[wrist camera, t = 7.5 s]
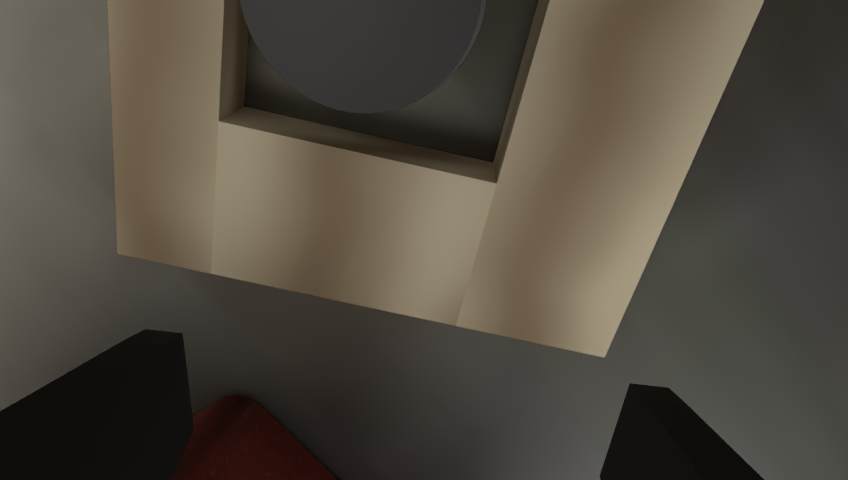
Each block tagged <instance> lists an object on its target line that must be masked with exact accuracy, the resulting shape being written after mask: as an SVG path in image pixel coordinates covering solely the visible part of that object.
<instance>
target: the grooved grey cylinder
mask: <svg viewBox="0 0 848 480" xmlns="http://www.w3.org/2000/svg"><path fill="white" fill-rule="evenodd" d="M486 1H487V0H240V5H241V8H242V12H243V15H244V19H245V22H246V24H247V27H248V29H249V31H250V34H251V36H252V38H253V40H254V42H255V43H256V45H257V47H258V49H259V51H260V52H261V54H262V55H263V56H264V58H265V59H266V61H267V62H268V64H269V65H270V66H271V67H272V68H273V69H274V70H275V71H276V73H277V74H278V75H279V76H280V77H281V78H282V79H283V80H285V81H286V82H287V83H288V84H289V85H290V86H291V87H293V88H294V89H295V90H297V91H298V92H300V93H301V94H303V95H304V96H306V97H308V98H310V99H311V100H313V101H315V102H317V103H319V104H322V105H325V106H327V107H330V108H333V109H337V110H341V111H345V112H352V113H379V112H386V111H391V110H394V109H398V108H401V107H404V106H407V105H409V104H411V103H413V102H415V101H418V100H419V99H421V98H422V97H424V96H426V95H427V94H429V93H430V92H431V91H433V90H434V89H436V88H437V87H439V86H440V85H441V84H442V83H443V82H445V81H446V80H447V79H448V78H449V77H450V76H451V75H452V74H453V73H454V72H455V71H456V70H457V69H458V68H459V66H460V65H461V63H462V62H463V61H464V59H465V58H466V57H467V55H468V53H469V51H470V50H471V48H472V46H473V44H474V42H475V40H476V38H477V35H478V33H479V30H480V28H481V25H482V21H483V17H484V13H485V8H486Z"/></svg>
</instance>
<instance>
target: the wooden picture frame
mask: <svg viewBox="0 0 848 480" xmlns="http://www.w3.org/2000/svg"><path fill="white" fill-rule="evenodd" d="M763 2H764V0H538V4H537V7H536V11H535V14H534V18H533V22H532V25H531V29H530V32H529V36H528V39H527V43H526V47H525V50H524V54H523V57H522V61H521V64H520V68H519V72H518V75H517V79H516V82H515V86H514V89H513V93H512V96H511V100H510V104H509V107H508V111H507V114H506V118H505V121H504V125H503V129H502V132H501V136H500V139H499V143H498V146H497V150H496V154H495V157H494V161H493V162H488V161H484V160H479V159H475V158H471V157H466V156H462V155H457V154H453V153H448V152H444V151H439V150H435V149H431V148H426V147H422V146H417V145H413V144H408V143H404V142H400V141H395V140H391V139H386V138H382V137H377V136H373V135H368V134H364V133H360V132H355V131H351V130H346V129H342V128H337V127H333V126H328V125H324V124H320V123H315V122H311V121H306V120H302V119H297V118H293V117H289V116H284V115H280V114H275V113H271V112H266V111H262V110H257V109H253V108H249V107H244V99H245V84H246V70H247V55H248V40H249V29H248V27H247V24H246V22H245V19H244V15H243V12H242V8H241V5H240V0H107V3H108V29H109V55H110V80H111V106H112V132H113V157H114V183H115V209H116V235H117V254H120V255H125V256H130V257H134V258H139V259H144V260H148V261H153V262H158V263H163V264H167V265H172V266H177V267H181V268H186V269H191V270H195V271H200V272H205V273H209V274H214V275H219V276H224V277H228V278H233V279H238V280H242V281H247V282H252V283H256V284H261V285H266V286H270V287H275V288H280V289H285V290H289V291H294V292H299V293H303V294H308V295H313V296H317V297H322V298H327V299H331V300H336V301H341V302H346V303H350V304H355V305H360V306H364V307H369V308H374V309H378V310H383V311H388V312H392V313H397V314H402V315H407V316H411V317H416V318H421V319H425V320H430V321H435V322H439V323H444V324H449V325H453V326H458V327H463V328H468V329H472V330H477V331H482V332H486V333H491V334H496V335H500V336H505V337H510V338H514V339H519V340H524V341H529V342H533V343H538V344H543V345H547V346H552V347H557V348H561V349H566V350H571V351H575V352H580V353H585V354H590V355H594V356H599V357H604V358H605V355H606V353H607V351H608V349H609V347H610V344H611V342H612V340H613V338H614V335H615V333H616V331H617V329H618V326H619V324H620V322H621V320H622V317H623V315H624V313H625V311H626V309H627V306H628V304H629V302H630V300H631V297H632V295H633V293H634V291H635V288H636V286H637V284H638V282H639V279H640V277H641V275H642V273H643V271H644V268H645V266H646V264H647V262H648V259H649V257H650V255H651V253H652V250H653V248H654V246H655V244H656V241H657V239H658V237H659V235H660V233H661V230H662V228H663V226H664V224H665V221H666V219H667V217H668V215H669V212H670V210H671V208H672V206H673V203H674V201H675V199H676V197H677V195H678V192H679V190H680V188H681V186H682V183H683V181H684V179H685V177H686V174H687V172H688V170H689V168H690V165H691V163H692V161H693V159H694V157H695V154H696V152H697V150H698V148H699V145H700V143H701V141H702V139H703V136H704V134H705V132H706V130H707V127H708V125H709V123H710V121H711V119H712V116H713V114H714V112H715V110H716V107H717V105H718V103H719V101H720V98H721V96H722V94H723V92H724V89H725V87H726V85H727V83H728V81H729V78H730V76H731V74H732V72H733V69H734V67H735V65H736V63H737V60H738V58H739V56H740V54H741V51H742V49H743V47H744V45H745V43H746V40H747V38H748V36H749V34H750V31H751V29H752V27H753V25H754V22H755V20H756V18H757V16H758V13H759V11H760V9H761V7H762V5H763Z"/></svg>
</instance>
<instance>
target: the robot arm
mask: <svg viewBox="0 0 848 480" xmlns="http://www.w3.org/2000/svg"><path fill="white" fill-rule="evenodd" d="M193 430H194V426H193V418H192V409H191V401H190V392H189V384H188V376H187V367H186V359H185V350H184V342H183V334H182V333H174V332H165V331H156V330H147V329H145V330H143V331H141V332H139V333H137V334H135V335H133V336H131V337H129V338H128V339H126V340H124V341H122V342H120V343H119V344H117V345H115V346H113V347H111V348H110V349H108V350H106V351H104V352H103V353H101V354H99V355H98V356H96V357H94V358H92V359H91V360H89V361H87V362H85V363H84V364H82V365H80V366H79V367H77V368H75V369H73V370H72V371H70V372H68V373H67V374H65V375H63V376H61V377H60V378H58V379H56V380H54V381H53V382H51V383H49V384H47V385H46V386H44V387H42V388H40V389H39V390H37V391H35V392H33V393H32V394H30V395H28V396H26V397H25V398H23V399H21V400H19V401H18V402H16V403H14V404H12V405H11V406H9V407H7V408H5V409H3V410H2V411H0V480H172V478H173V476H174V474H175V472H176V470H177V468H178V465H179V463H180V461H181V459H182V456H183V454H184V451H185V449H186V447H187V444H188V442H189V440H190V437H191V435H192V433H193ZM600 479H601V480H764V479H763V478H762V477H761V476H760V475H759V474H758V473H757V472H756V471H755V470H754V469H753V468H752V467H750V466H749V465H748V464H747V463H746V462H745V461H744V460H743V459H742V458H741V457H740V456H739V455H738V454H737V453H736V452H735V451H734V450H733V449H732V448H731V447H730V446H729V445H728V444H727V443H726V442H725V441H724V440H723V439H722V438H721V437H720V436H719V435H718V434H717V433H716V432H715V431H714V430H713V429H712V428H710V427H709V426H708V425H707V424H706V423H705V422H704V421H703V420H702V419H701V418H700V417H699V416H698V415H697V414H696V413H695V412H694V411H693V410H692V409H691V408H690V407H689V406H688V405H687V404H686V403H685V402H684V401H682V400H681V399H680V398H679V397H678V396H677V395H676V394H675V393H674V392H673V391H671V390H670V389H669V388H666V387H657V386H648V385H639V384H630V385H629V388H628V391H627V394H626V397H625V400H624V403H623V406H622V409H621V412H620V415H619V419H618V422H617V425H616V428H615V431H614V434H613V437H612V440H611V443H610V446H609V449H608V452H607V455H606V458H605V461H604V465H603V468H602V471H601V474H600Z"/></svg>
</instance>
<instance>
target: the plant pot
mask: <svg viewBox="0 0 848 480" xmlns="http://www.w3.org/2000/svg"><path fill="white" fill-rule="evenodd" d="M192 418H193V426H194V430H193V433H192V435H191V437H190V440H189V442H188V444H187V447H186V449H185V451H184V454H183V456H182V459H181V461H180V463H179V465H178V468H177V470H176V472H175V474H174V476H173V478H172V480H337V479H336V478H335V477H334V476H333V475H332V474H331V473H330V472H329V471H328V470H327V469H326V468H325V467H324V466H323V465H322V464H321V463H320V462H319V461H318V460H316V459H315V458H314V457H313V456H312V455H311V454H310V453H309V452H308V451H307V450H306V449H305V448H304V447H303V446H302V445H301V444H300V443H299V442H298V441H296V439H295V438H294V437H293V436H292V435H290V434H289V433H288V432H287V431H286V430H285V429H284V428H283V427H282V426H281V425H280V424H279V423H278V422H277V421H276V420H275V419H274V418H273V417H272V416H271V415H270V414H269V413H268V412H267V411H265V410H264V409H263V408H262V407H261V406H260V405H259V404H258V403H257V402H255V401H254V400H252V399H250V398H247V397H244V396H241V395H232V396H225V397H222V398H220V399H218V400H217V401H215V402H213V403H211V404H210V405H208V406H206V407H205V408H203V409H201V410H200V411H198V412H196V413H195V414H193V415H192Z"/></svg>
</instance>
